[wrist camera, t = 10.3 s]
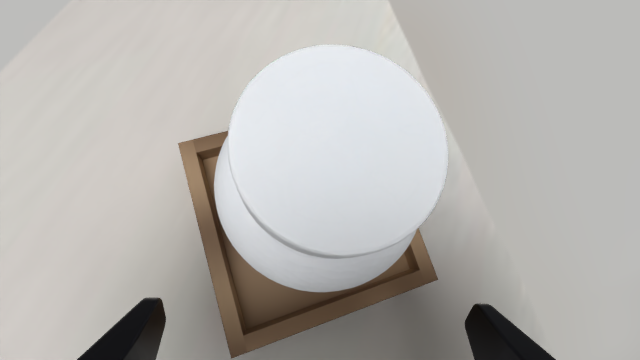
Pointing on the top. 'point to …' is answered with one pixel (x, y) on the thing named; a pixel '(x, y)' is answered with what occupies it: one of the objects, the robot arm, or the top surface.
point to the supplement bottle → (329, 167)
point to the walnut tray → (265, 294)
